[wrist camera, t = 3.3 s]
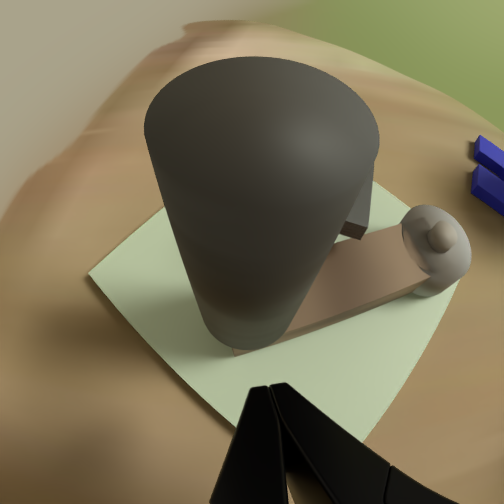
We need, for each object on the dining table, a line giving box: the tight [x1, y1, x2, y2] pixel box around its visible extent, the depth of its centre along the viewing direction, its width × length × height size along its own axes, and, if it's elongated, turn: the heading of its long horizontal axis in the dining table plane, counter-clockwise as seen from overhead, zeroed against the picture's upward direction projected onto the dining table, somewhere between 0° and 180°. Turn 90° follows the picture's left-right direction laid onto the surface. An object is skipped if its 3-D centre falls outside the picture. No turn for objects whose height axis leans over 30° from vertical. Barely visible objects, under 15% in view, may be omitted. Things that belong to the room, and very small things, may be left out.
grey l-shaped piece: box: [144, 57, 471, 357], centre depth 10 cm, size 14×4×11 cm, turn 108°
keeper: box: [339, 163, 374, 240], centre depth 16 cm, size 3×6×5 cm, turn 163°
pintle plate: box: [88, 181, 460, 442], centre depth 16 cm, size 16×15×1 cm
